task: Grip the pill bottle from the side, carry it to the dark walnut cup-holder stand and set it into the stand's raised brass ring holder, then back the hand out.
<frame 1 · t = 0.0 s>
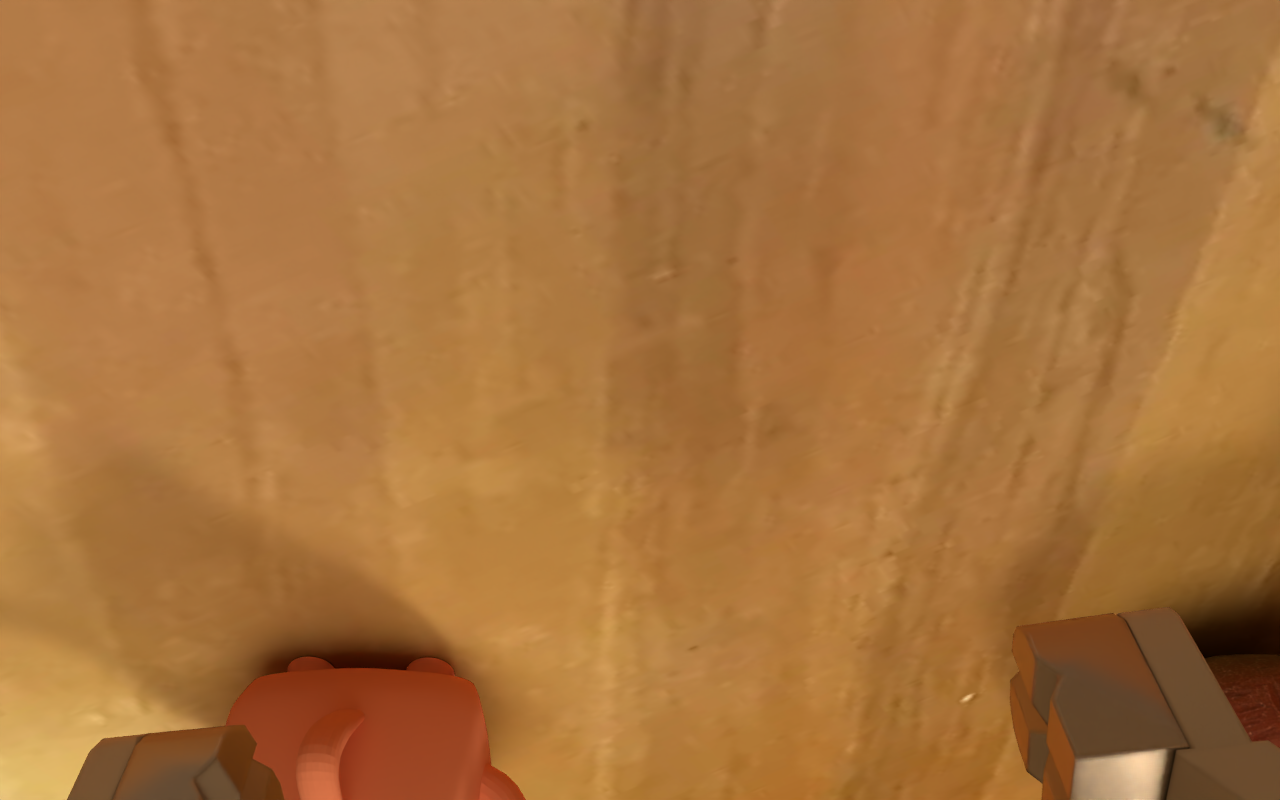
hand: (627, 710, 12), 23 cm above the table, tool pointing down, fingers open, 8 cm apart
teapot: (381, 707, 48), on the table
bowl: (1217, 665, 47), on the table
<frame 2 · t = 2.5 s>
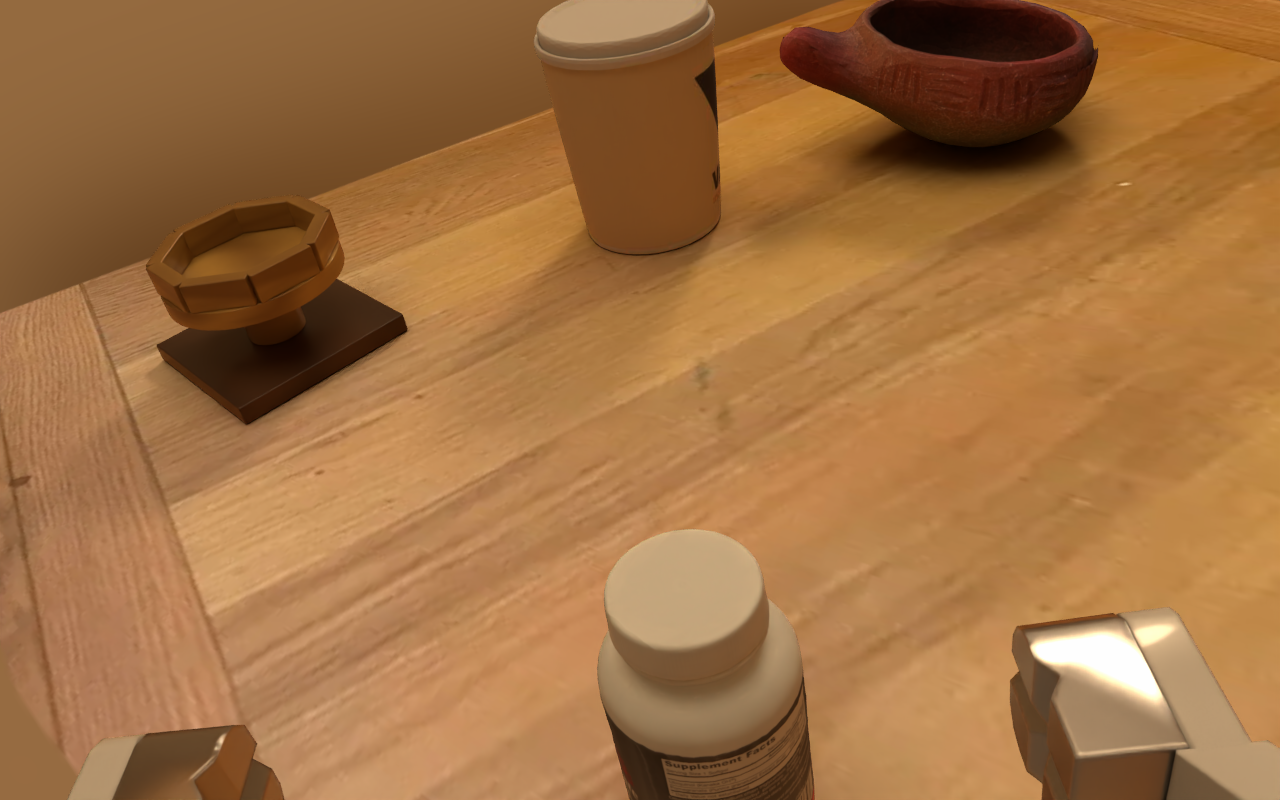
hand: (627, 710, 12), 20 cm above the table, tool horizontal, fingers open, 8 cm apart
cup holder: (284, 345, 58), on the table
bowl: (949, 146, 65), on the table
coffee cup: (654, 223, 63), on the table
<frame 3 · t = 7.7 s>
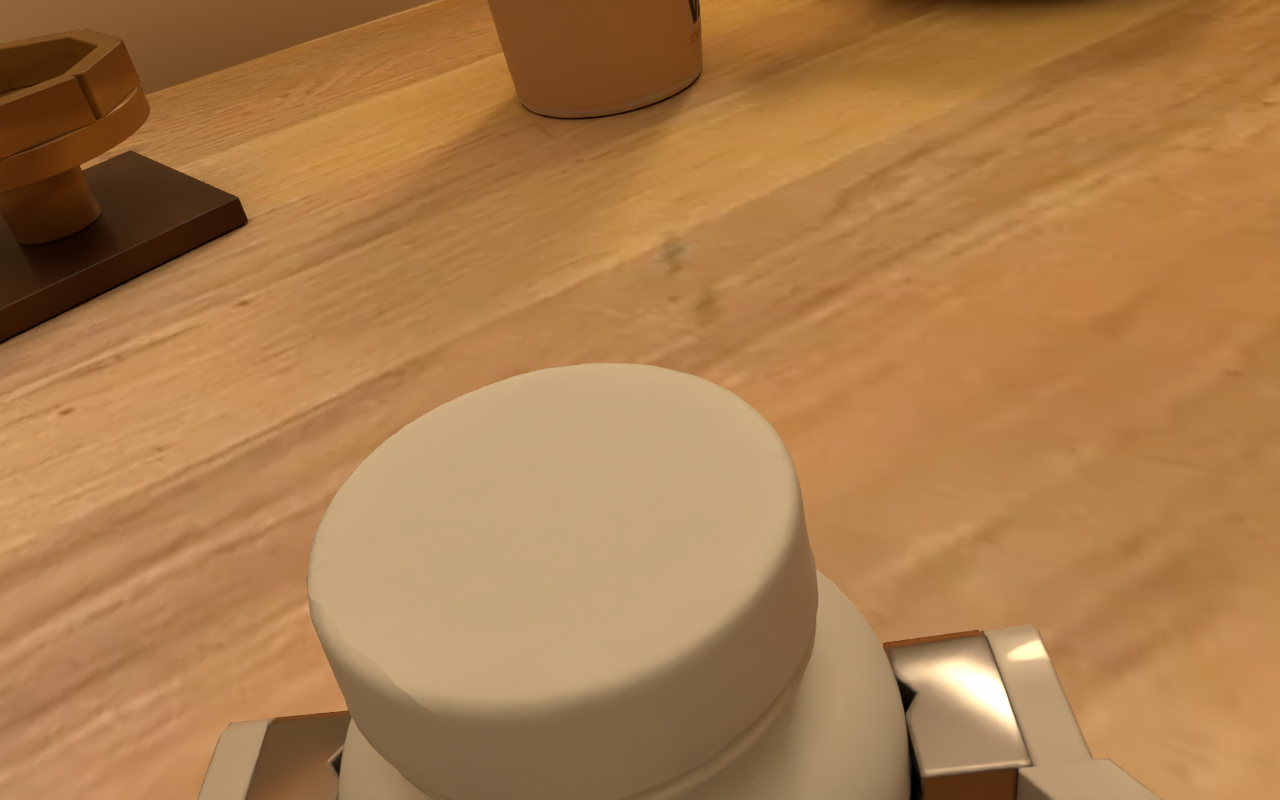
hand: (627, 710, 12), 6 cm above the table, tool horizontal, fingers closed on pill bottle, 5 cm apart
cup holder: (72, 249, 40), on the table
coffee cup: (611, 85, 45), on the table
when the fingers open (11 cm above the table, at t = 16.8 s): pill bottle stays where it is, resting on cup holder.
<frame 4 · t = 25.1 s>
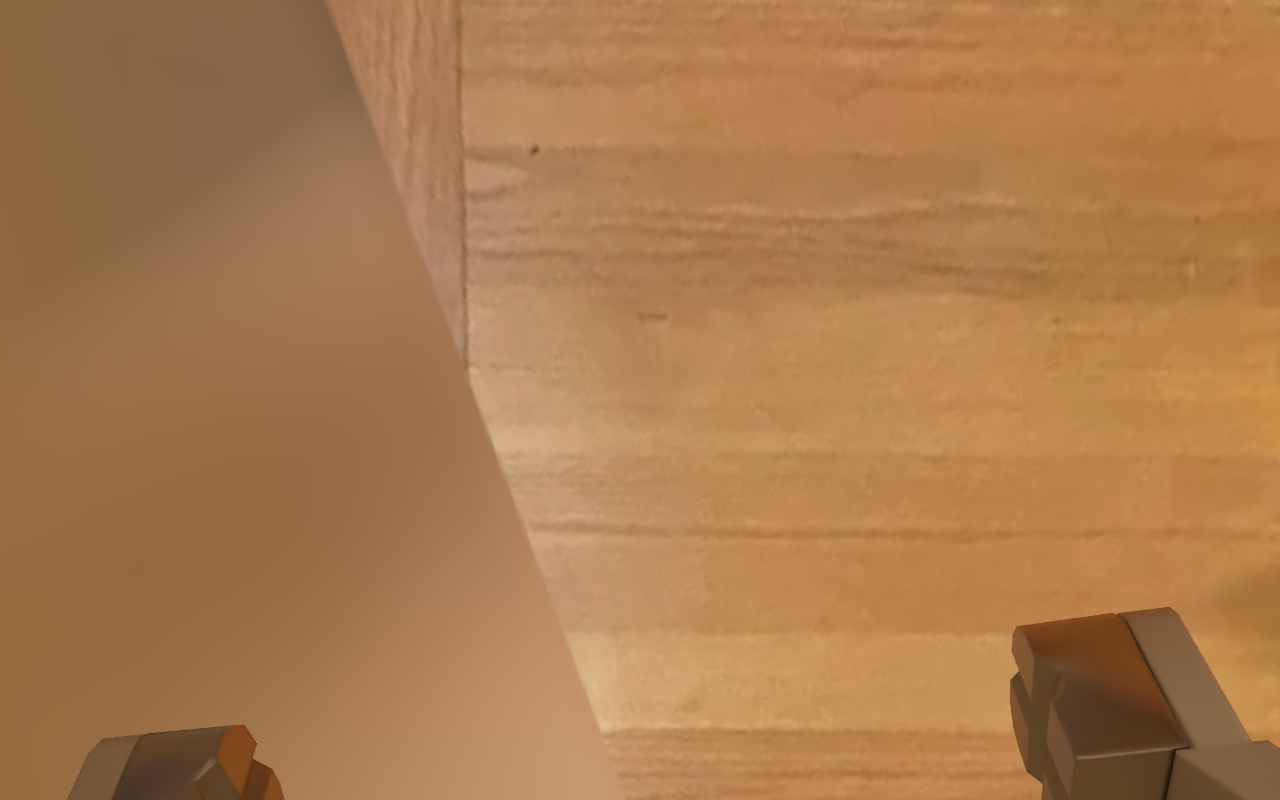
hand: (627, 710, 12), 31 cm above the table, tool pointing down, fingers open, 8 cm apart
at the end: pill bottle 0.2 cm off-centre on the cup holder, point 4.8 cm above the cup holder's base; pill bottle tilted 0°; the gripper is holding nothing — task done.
